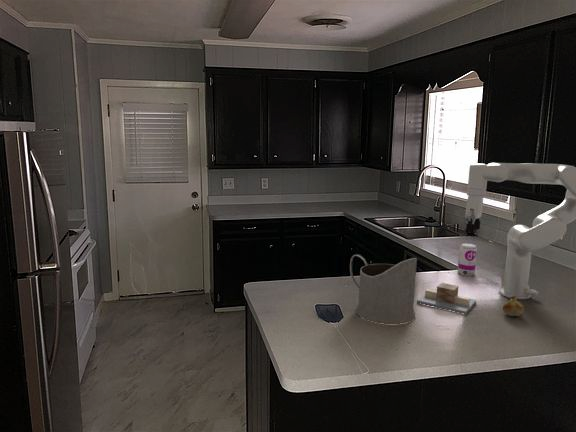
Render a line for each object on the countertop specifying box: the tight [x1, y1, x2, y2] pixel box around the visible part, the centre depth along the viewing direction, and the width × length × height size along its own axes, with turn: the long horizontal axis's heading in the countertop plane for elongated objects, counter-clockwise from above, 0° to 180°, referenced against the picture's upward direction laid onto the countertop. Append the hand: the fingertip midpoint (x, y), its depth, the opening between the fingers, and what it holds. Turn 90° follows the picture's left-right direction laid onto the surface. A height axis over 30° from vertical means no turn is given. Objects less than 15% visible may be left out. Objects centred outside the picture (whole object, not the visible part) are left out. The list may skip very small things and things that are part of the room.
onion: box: [502, 296, 525, 317], centre depth 187 cm, size 8×8×8 cm
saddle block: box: [436, 282, 459, 304], centre depth 199 cm, size 7×6×6 cm
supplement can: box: [457, 242, 478, 277], centre depth 240 cm, size 8×8×15 cm
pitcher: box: [349, 254, 418, 324], centre depth 189 cm, size 23×32×25 cm
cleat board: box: [416, 289, 477, 315], centre depth 199 cm, size 20×16×4 cm
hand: (472, 230), depth 209 cm, fingers open, 9 cm apart
